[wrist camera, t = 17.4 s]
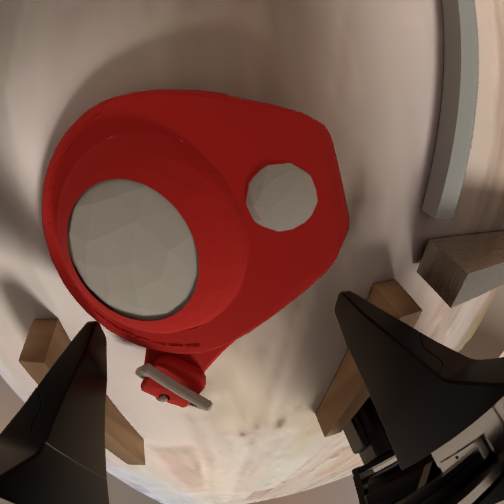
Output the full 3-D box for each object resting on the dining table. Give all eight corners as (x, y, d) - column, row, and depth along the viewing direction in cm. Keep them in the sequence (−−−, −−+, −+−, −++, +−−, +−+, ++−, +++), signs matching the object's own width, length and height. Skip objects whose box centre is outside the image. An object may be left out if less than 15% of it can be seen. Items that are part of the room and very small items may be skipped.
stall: (395, 279, 13) (422, 310, 11) (330, 409, 21) (340, 432, 19) (34, 319, 10) (18, 361, 7) (127, 439, 18) (128, 464, 15)
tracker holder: (-12, 178, 5) (306, 0, 3) (64, 155, 9) (293, 55, 8) (146, 434, 10) (381, 414, 8) (171, 370, 14) (359, 338, 12)
